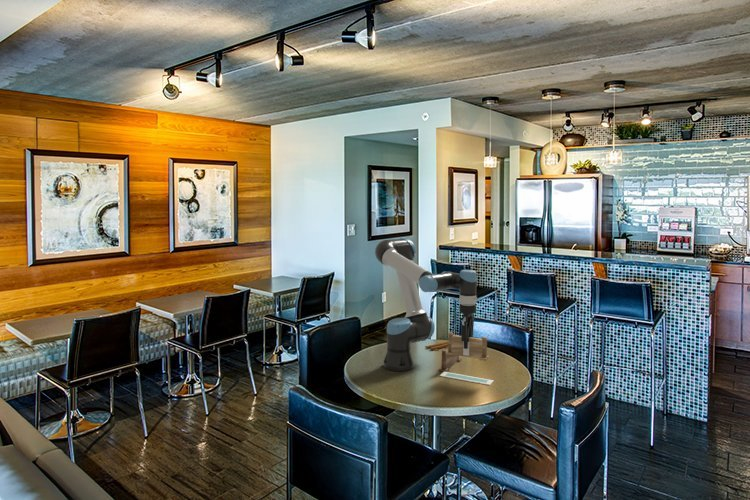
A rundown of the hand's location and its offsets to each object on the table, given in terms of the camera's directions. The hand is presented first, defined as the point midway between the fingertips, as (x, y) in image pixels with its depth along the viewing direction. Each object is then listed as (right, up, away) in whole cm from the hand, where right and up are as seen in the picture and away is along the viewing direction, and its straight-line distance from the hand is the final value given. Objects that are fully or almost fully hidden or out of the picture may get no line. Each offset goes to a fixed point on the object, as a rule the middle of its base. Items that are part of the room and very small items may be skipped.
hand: (467, 354), depth 229 cm
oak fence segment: (0, -1, 0) cm, 1 cm away
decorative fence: (-2, -7, +53) cm, 54 cm away
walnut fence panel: (-5, -10, +20) cm, 22 cm away
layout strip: (0, -12, +1) cm, 12 cm away
